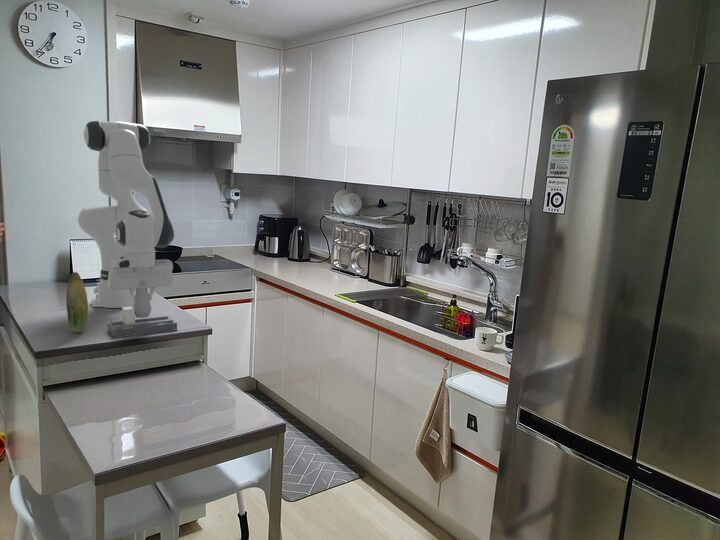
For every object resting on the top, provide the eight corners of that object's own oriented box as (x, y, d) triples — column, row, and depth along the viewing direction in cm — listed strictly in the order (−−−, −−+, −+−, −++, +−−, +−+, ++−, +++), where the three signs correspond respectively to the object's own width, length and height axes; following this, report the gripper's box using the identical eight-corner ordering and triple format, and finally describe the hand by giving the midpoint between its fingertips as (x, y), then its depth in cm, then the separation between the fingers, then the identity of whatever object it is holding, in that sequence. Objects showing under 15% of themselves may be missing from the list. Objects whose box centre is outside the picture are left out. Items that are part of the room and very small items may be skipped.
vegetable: (92, 330, 178) (89, 271, 175) (84, 335, 172) (82, 274, 169) (72, 330, 177) (69, 270, 174) (64, 335, 171) (61, 274, 168)
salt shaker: (144, 319, 177) (143, 280, 174) (129, 317, 178) (128, 279, 175) (155, 314, 182) (154, 277, 180) (139, 313, 183) (138, 276, 181)
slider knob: (122, 323, 178) (121, 307, 177) (131, 321, 180) (131, 306, 179) (125, 325, 175) (124, 309, 174) (134, 324, 177) (134, 308, 176)
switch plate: (108, 330, 178) (107, 321, 178) (169, 323, 190) (168, 314, 190) (114, 337, 171) (113, 327, 171) (177, 329, 183) (176, 320, 183)
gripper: (169, 257, 185) (170, 296, 188) (105, 260, 173) (107, 302, 176) (175, 260, 180) (176, 300, 183) (110, 263, 168) (111, 306, 171)
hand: (141, 301), depth 179 cm, fingers closed on salt shaker, 3 cm apart
